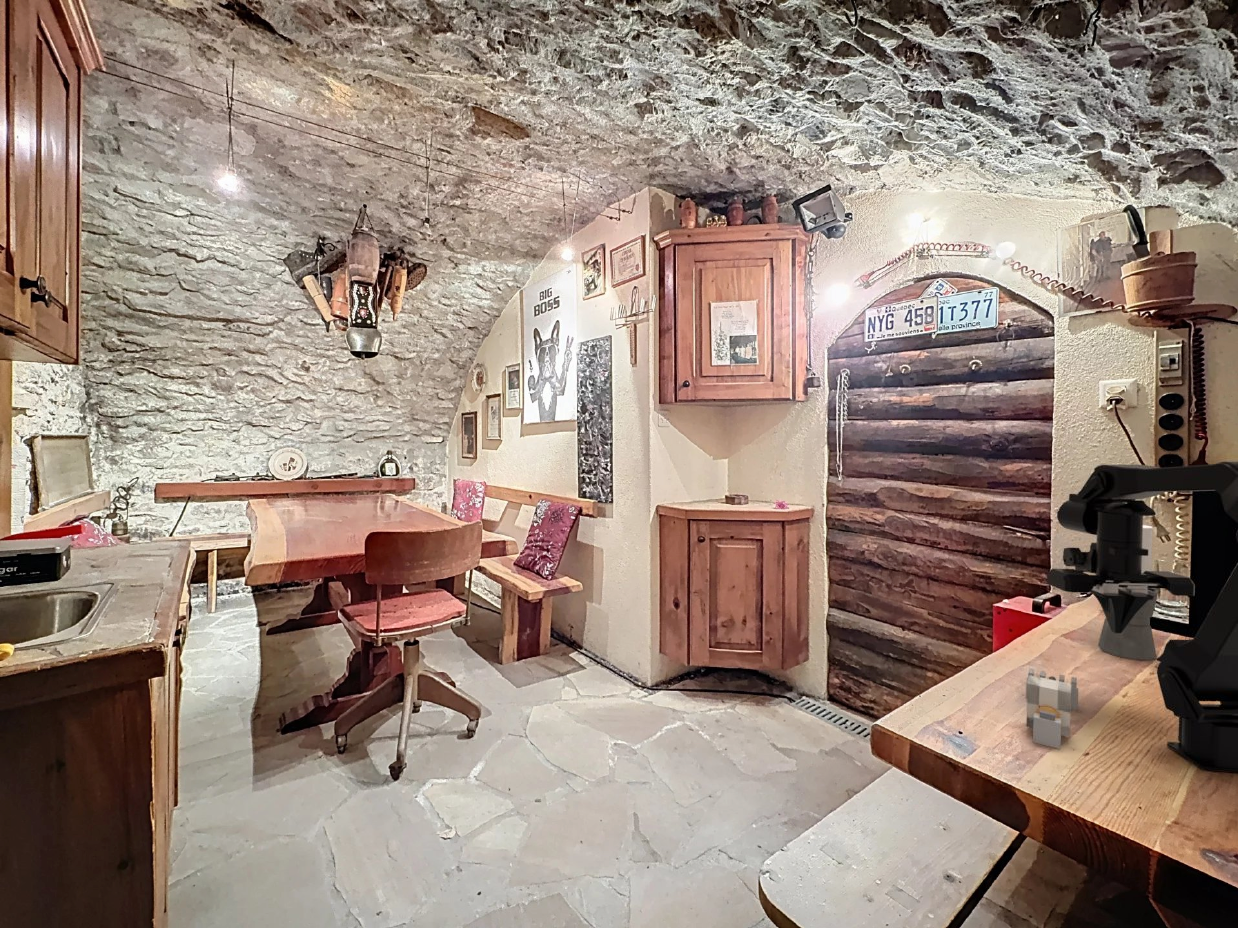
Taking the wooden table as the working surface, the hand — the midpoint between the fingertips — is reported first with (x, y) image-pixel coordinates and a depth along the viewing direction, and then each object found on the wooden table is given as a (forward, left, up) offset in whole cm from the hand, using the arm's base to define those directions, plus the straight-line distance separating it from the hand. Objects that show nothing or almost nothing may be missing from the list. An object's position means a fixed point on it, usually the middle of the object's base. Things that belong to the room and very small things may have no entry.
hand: (1116, 632), depth 95 cm
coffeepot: (+28, -19, -13) cm, 36 cm away
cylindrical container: (+39, -27, -13) cm, 49 cm away
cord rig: (-7, +14, -12) cm, 20 cm away
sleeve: (-11, +16, -12) cm, 23 cm away
